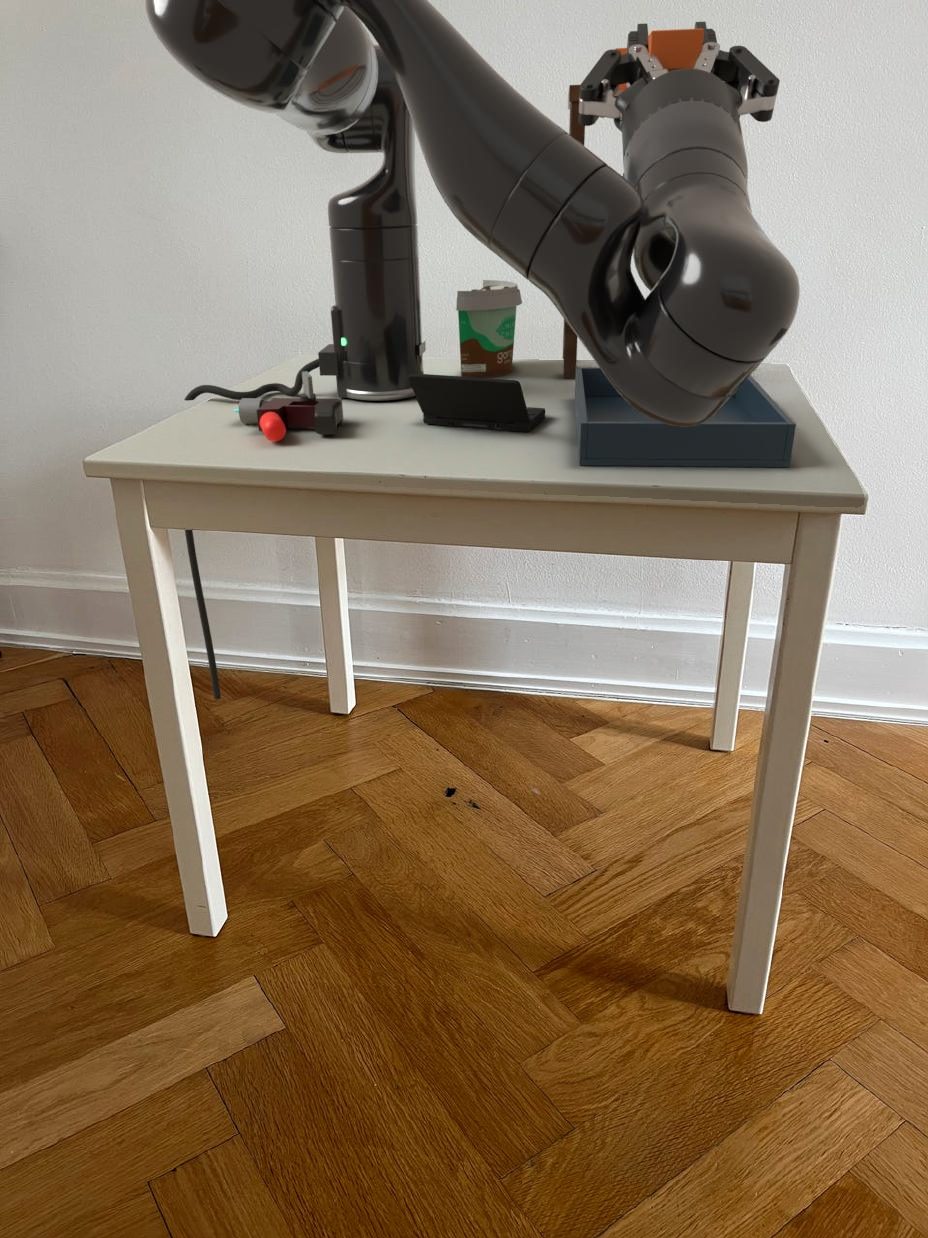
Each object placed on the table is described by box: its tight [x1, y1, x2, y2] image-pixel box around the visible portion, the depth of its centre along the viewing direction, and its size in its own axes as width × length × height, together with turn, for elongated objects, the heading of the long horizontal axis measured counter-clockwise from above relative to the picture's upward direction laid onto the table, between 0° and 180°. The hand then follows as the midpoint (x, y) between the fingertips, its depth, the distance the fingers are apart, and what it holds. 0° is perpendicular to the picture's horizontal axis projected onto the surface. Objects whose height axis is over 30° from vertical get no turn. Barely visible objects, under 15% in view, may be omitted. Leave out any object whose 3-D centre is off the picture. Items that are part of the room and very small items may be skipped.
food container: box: [455, 279, 523, 378], centre depth 109 cm, size 12×6×10 cm, turn 164°
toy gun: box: [232, 371, 345, 442], centre depth 86 cm, size 10×12×5 cm
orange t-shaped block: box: [614, 28, 704, 96], centre depth 72 cm, size 7×22×3 cm, turn 175°
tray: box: [574, 366, 797, 468], centre depth 84 cm, size 17×23×4 cm
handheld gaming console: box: [409, 373, 546, 433], centre depth 87 cm, size 12×7×10 cm
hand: (669, 36), depth 67 cm, fingers closed on orange t-shaped block, 3 cm apart
